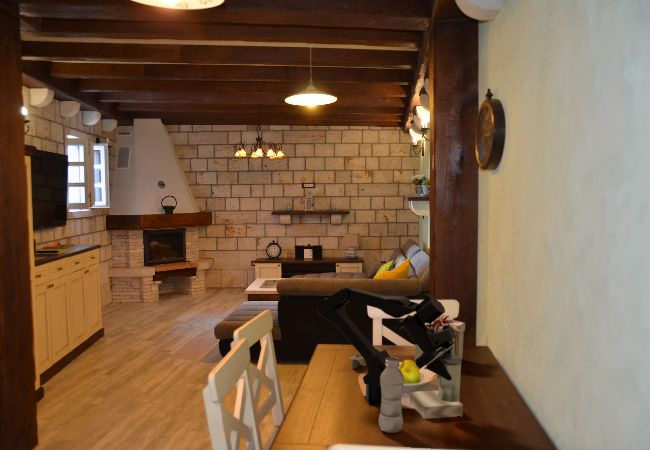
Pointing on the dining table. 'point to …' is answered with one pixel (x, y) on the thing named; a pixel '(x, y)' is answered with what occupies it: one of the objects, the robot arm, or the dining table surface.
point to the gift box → (458, 340)
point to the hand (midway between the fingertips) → (454, 376)
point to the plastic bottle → (391, 397)
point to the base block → (434, 405)
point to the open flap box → (357, 360)
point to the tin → (451, 388)
